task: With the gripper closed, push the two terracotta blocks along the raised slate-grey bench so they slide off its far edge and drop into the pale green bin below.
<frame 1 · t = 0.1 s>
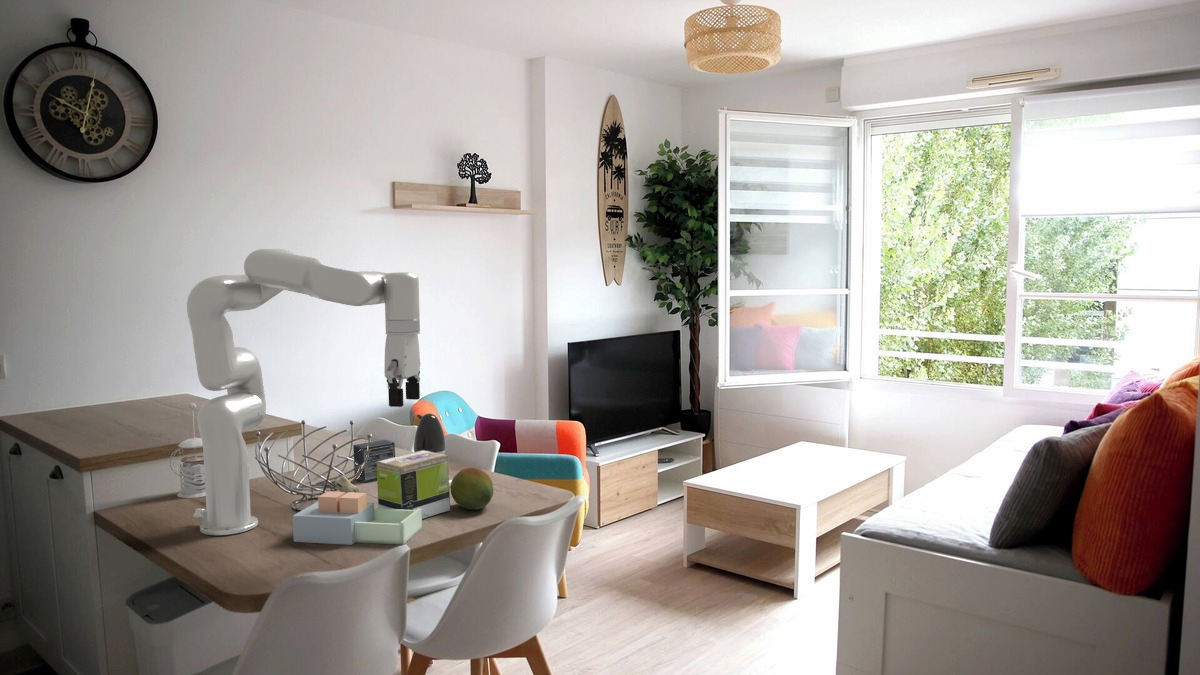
hand: (404, 402, 184), 31 cm above the table, tool pointing down, fingers open, 9 cm apart
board: (335, 534, 188), on the table
tea box: (414, 515, 203), on the table
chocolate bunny: (343, 514, 204), on the table
fruit: (474, 508, 209), on the table
small box: (375, 478, 238), on the table
teacup and saucer: (441, 489, 228), on the table
tile b: (353, 510, 187), point 6 cm above the table, touching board
bin: (389, 535, 187), on the table
french press: (193, 493, 224), on the table
tile a: (332, 509, 188), point 6 cm above the table, touching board
black rounded cone: (429, 460, 260), on the table
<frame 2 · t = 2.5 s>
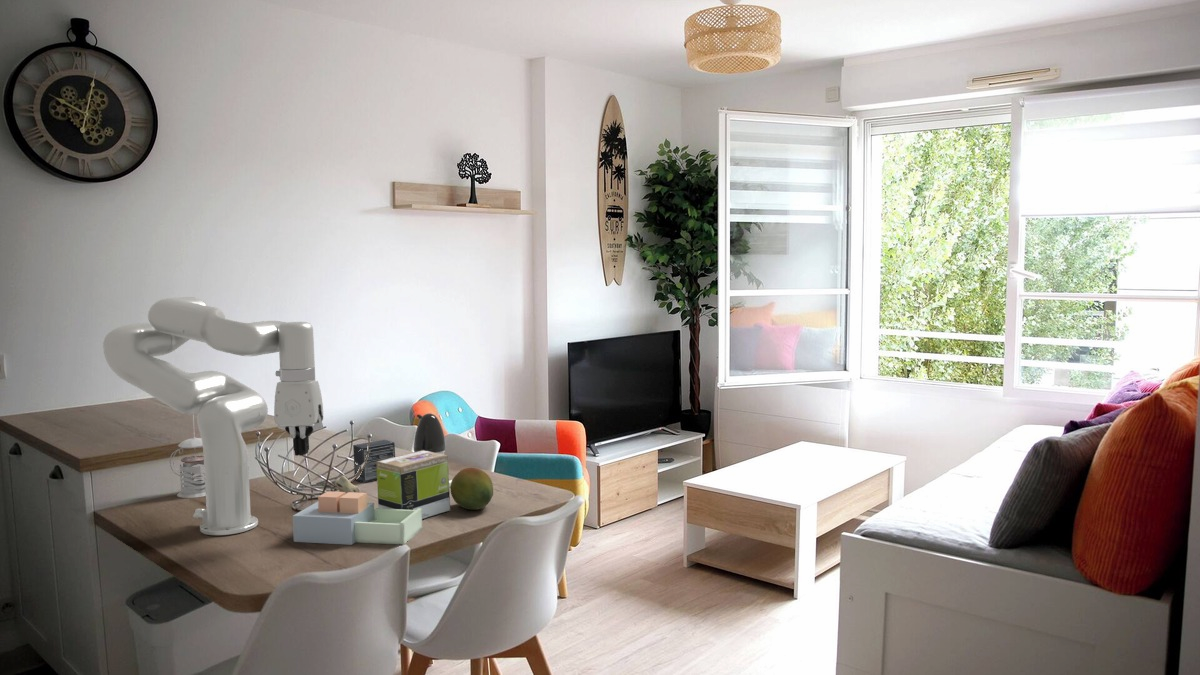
hand: (301, 454, 188), 19 cm above the table, tool pointing down, fingers closed
nothing on the table moved.
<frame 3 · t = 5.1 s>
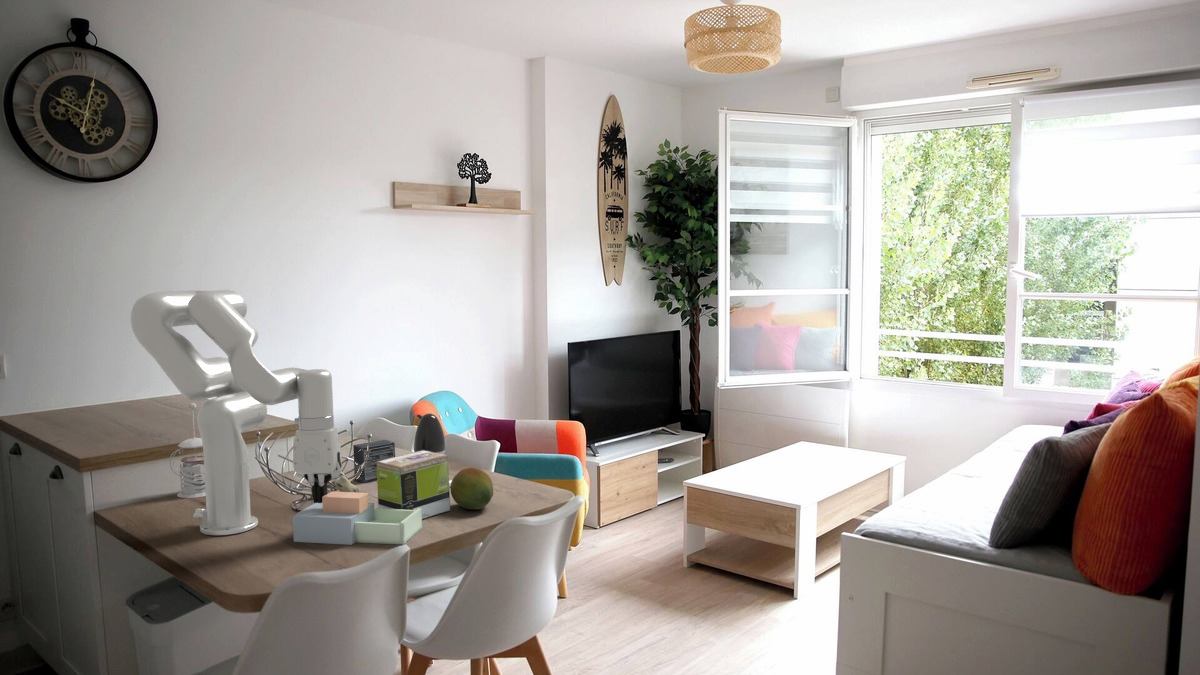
hand: (320, 501, 188), 8 cm above the table, tool pointing down, fingers closed
tile b: (354, 510, 187), point 6 cm above the table, touching tile a
tile a: (336, 509, 188), point 6 cm above the table, touching gripper, tile b
everything else where it was.
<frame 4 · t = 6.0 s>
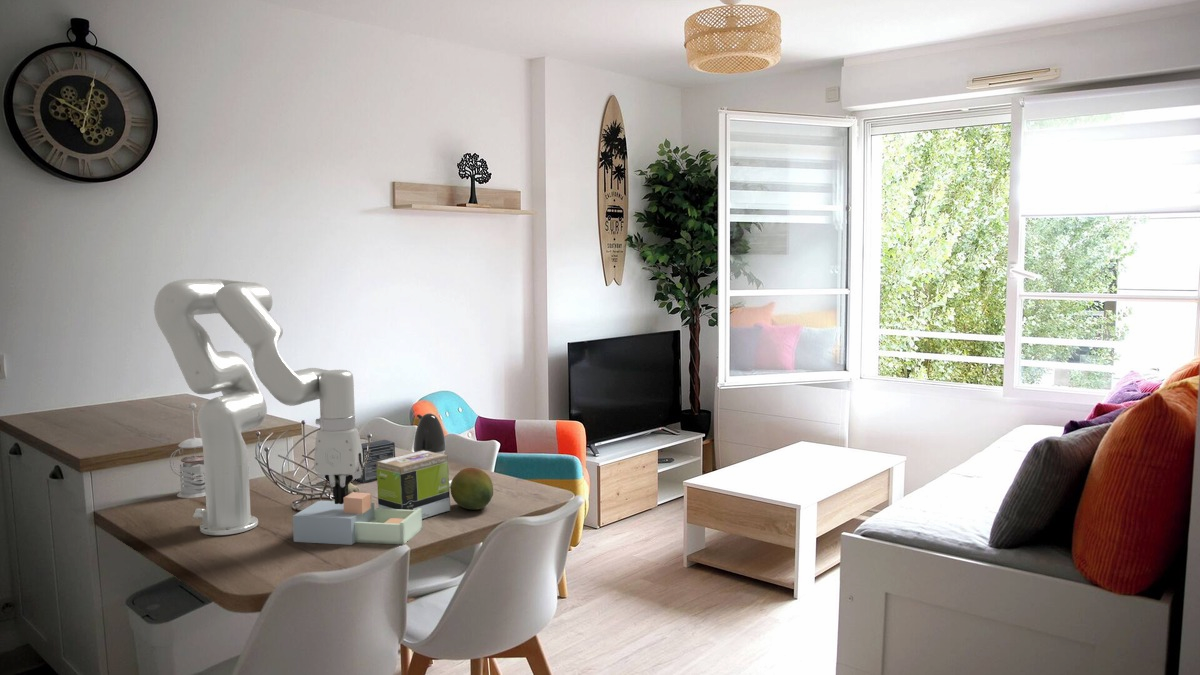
hand: (341, 502, 187), 8 cm above the table, tool pointing down, fingers closed
tile b: (395, 521, 184), point 4 cm above the table, tilted 180°, touching bin
tile a: (357, 510, 187), point 6 cm above the table, touching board, gripper
everything else where it was.
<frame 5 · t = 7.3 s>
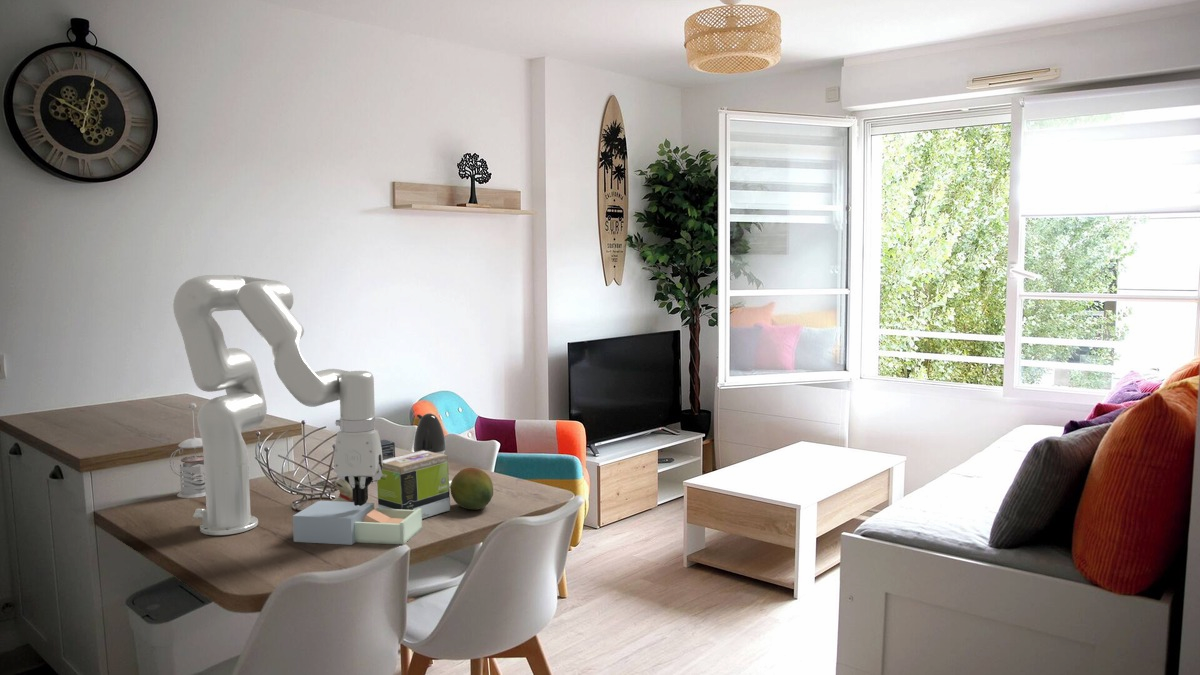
hand: (360, 503, 187), 8 cm above the table, tool pointing down, fingers closed
tile a: (372, 529, 187), point 2 cm above the table, tilted 26°, touching bin
everything else where it was.
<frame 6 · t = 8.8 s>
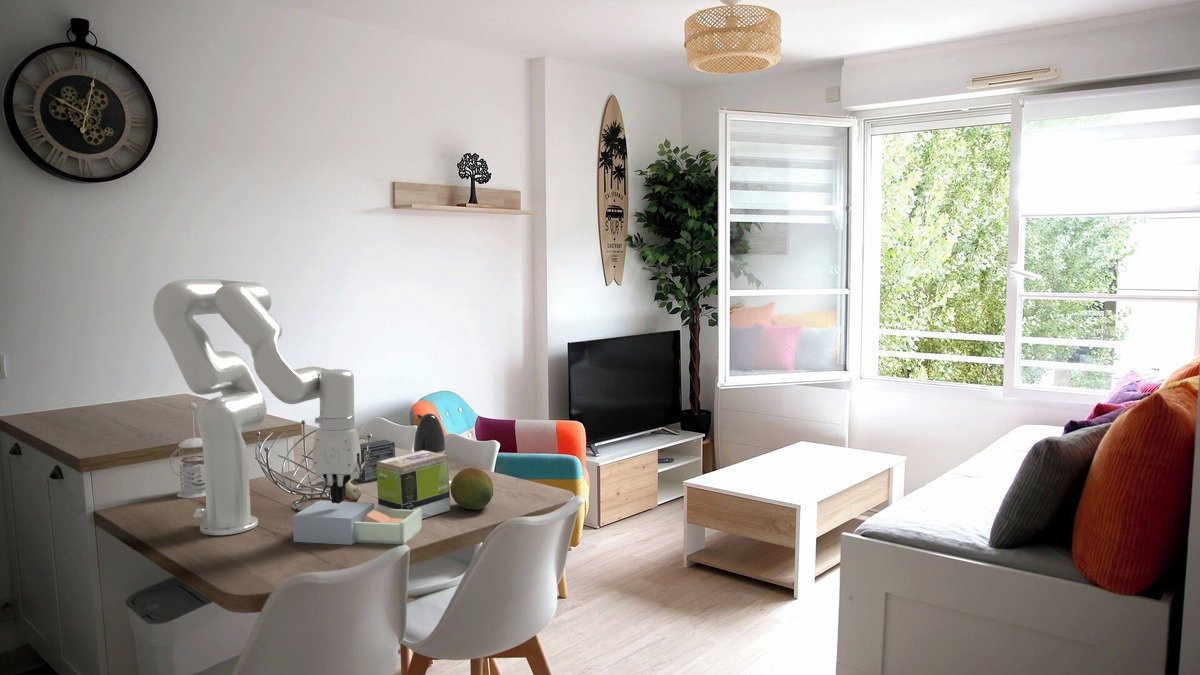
hand: (338, 501, 188), 8 cm above the table, tool pointing down, fingers closed
nothing on the table moved.
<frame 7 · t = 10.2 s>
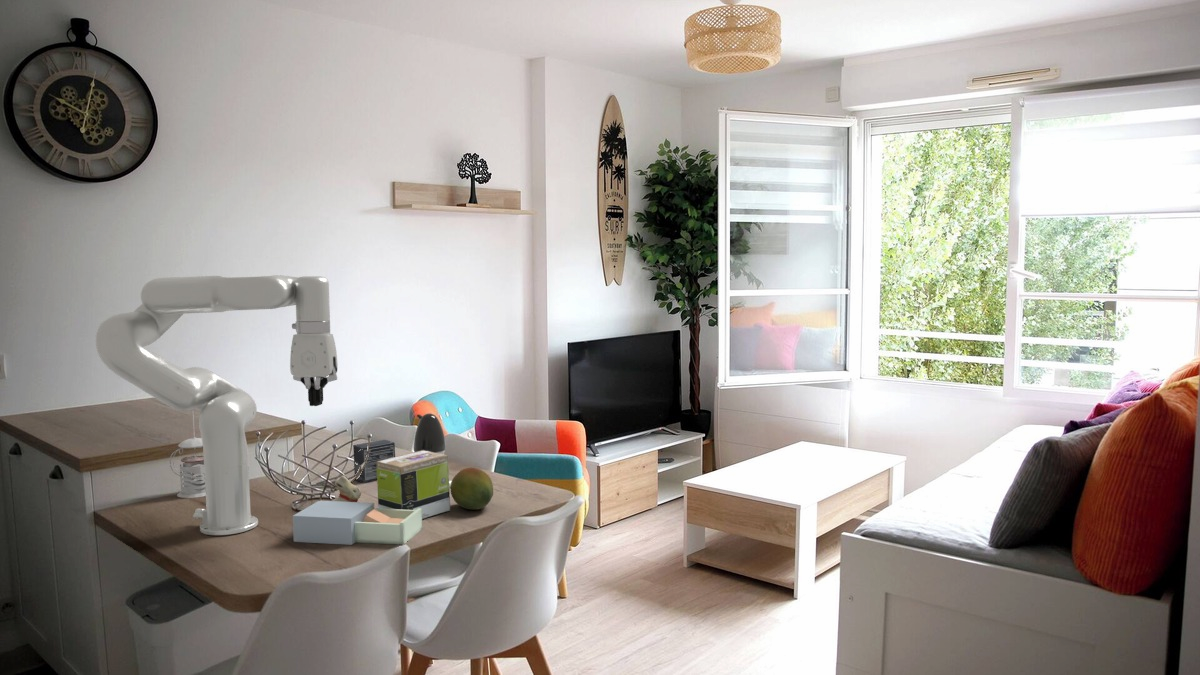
hand: (316, 404, 194), 29 cm above the table, tool pointing down, fingers closed
nothing on the table moved.
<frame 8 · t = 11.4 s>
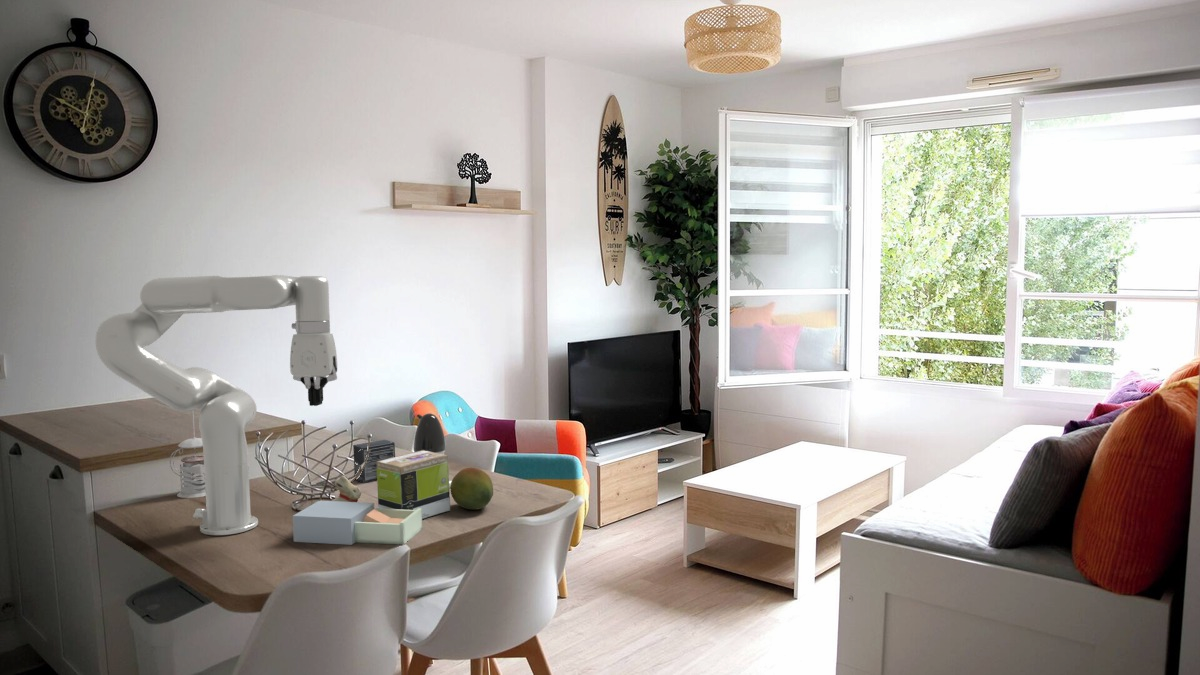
hand: (315, 404, 194), 29 cm above the table, tool pointing down, fingers closed
nothing on the table moved.
at the end: tile a inside the target area (4.0 cm from its centre), point 1.6 cm above the table; tile b inside the target area (3.2 cm from its centre), point 4.1 cm above the table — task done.
